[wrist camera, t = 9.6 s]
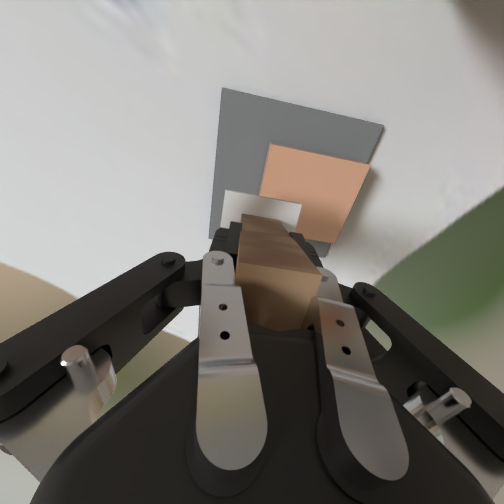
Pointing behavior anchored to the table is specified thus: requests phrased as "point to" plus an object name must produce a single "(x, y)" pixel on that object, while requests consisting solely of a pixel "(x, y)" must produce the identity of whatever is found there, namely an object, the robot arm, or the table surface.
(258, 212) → the scraper
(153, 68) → the table surface
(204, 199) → the table surface
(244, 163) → the mat
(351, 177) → the tile
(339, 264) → the table surface
